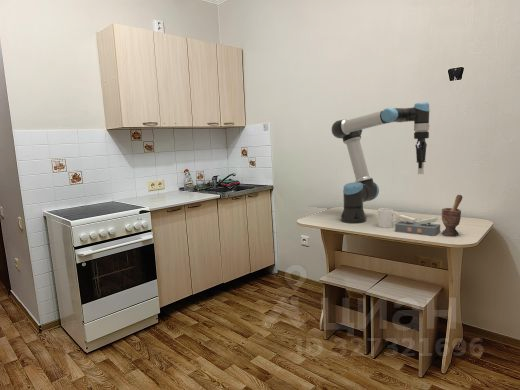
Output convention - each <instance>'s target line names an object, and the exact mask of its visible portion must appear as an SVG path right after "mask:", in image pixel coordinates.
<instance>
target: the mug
mask: <svg viewBox="0 0 520 390" xmlns="http://www.w3.org/2000/svg"><path fill="white" fill-rule="evenodd" d="M393 215H396V217H395V218H394V217H393ZM399 215H400V214H399V213H398V212H397V211H394V210H393V209H392V208H386V207H385V208H383V207H382V208H378V209H377V226H378V227H379V228H385V229H390V228H393V225H394V223H393V222H396V221H398V218H399Z"/></svg>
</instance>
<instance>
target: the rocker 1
mask: <svg viewBox="0 0 520 390" xmlns="http://www.w3.org/2000/svg"><path fill="white" fill-rule="evenodd" d="M398 219H399V220H400V221H407V222H411V223H414V222H416V221H417V219H416V217H411V216H407V215H404V214H399V218H398Z"/></svg>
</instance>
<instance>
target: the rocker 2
mask: <svg viewBox="0 0 520 390" xmlns="http://www.w3.org/2000/svg"><path fill="white" fill-rule="evenodd" d="M438 221H439V219H438V217H437V216H435V217H430V218H425V219H424V218H423V219H421V220H419V221H418V222H420V224H426V223H431V224H433V223H435V222H438Z"/></svg>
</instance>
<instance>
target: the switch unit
mask: <svg viewBox="0 0 520 390" xmlns="http://www.w3.org/2000/svg"><path fill="white" fill-rule="evenodd" d="M394 225H395V228H394V229H395V230H394V231H395V232H398V233H406V234H413V235H422V236H432V237H435V236H437V235H438V234H439V233H440V232H441V224H440V223H426V224H420V222H419V221H415V222H414V223H411V222H407V221H404V220H400V221H399V222H397V223H395V224H394Z"/></svg>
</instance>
